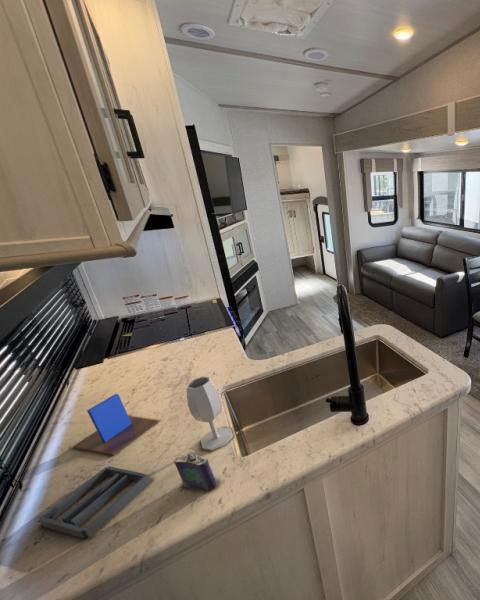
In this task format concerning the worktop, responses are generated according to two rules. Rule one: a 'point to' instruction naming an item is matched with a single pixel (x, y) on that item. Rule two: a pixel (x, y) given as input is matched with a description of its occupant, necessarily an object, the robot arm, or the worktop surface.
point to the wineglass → (207, 411)
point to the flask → (195, 471)
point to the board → (116, 437)
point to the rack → (94, 502)
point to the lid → (109, 417)
